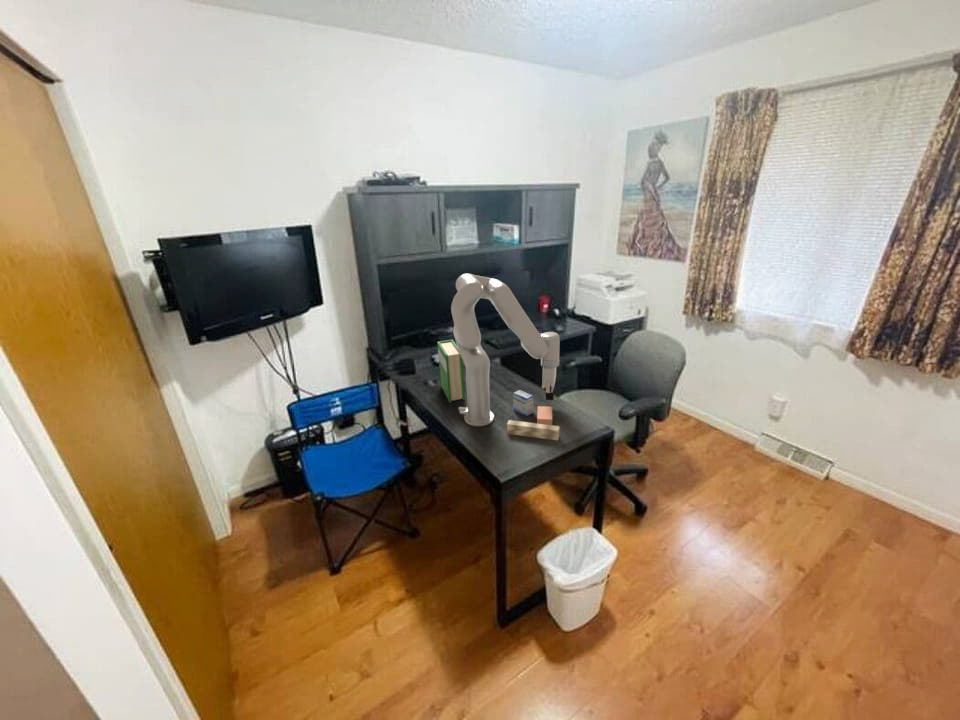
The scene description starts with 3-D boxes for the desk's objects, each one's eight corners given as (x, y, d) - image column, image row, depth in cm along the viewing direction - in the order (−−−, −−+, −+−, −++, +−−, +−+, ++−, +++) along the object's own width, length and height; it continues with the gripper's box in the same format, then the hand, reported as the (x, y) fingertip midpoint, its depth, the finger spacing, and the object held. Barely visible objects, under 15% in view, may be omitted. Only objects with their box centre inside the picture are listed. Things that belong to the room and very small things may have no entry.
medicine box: (512, 410, 168) (512, 392, 165) (519, 406, 171) (519, 389, 168) (526, 416, 163) (527, 398, 160) (533, 412, 166) (533, 395, 162)
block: (536, 427, 156) (537, 418, 155) (537, 414, 165) (537, 406, 164) (551, 427, 155) (552, 419, 154) (551, 414, 164) (551, 406, 163)
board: (507, 433, 152) (507, 424, 150) (508, 429, 155) (508, 420, 153) (558, 440, 147) (558, 430, 145) (559, 436, 149) (559, 426, 148)
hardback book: (465, 400, 178) (462, 352, 168) (449, 403, 176) (445, 355, 167) (455, 383, 194) (452, 339, 184) (441, 386, 192) (437, 341, 182)
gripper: (543, 353, 168) (543, 390, 176) (538, 368, 155) (538, 407, 163) (560, 354, 166) (560, 391, 174) (557, 369, 153) (556, 408, 161)
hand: (549, 399), depth 168 cm, fingers closed
